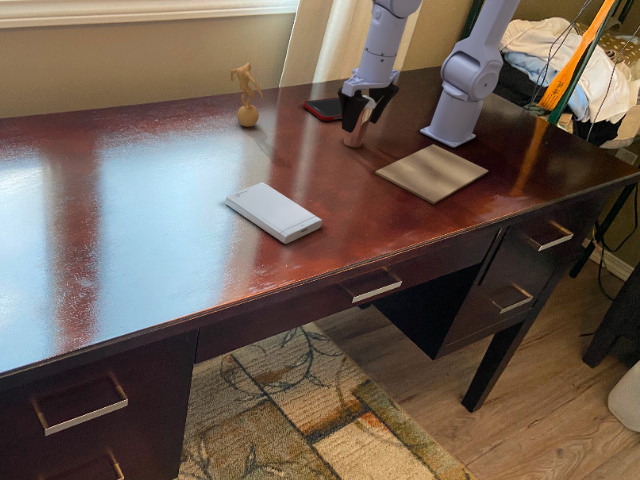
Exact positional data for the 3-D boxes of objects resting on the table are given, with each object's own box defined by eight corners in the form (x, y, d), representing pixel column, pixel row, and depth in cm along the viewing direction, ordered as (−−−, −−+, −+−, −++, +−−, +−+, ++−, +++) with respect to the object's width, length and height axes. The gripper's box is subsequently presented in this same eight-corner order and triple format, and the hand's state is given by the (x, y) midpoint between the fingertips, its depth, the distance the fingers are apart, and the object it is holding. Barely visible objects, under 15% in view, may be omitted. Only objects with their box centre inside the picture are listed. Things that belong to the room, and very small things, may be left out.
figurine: (269, 132, 113) (280, 68, 106) (245, 139, 110) (255, 73, 102) (239, 114, 117) (248, 51, 110) (215, 120, 114) (223, 56, 106)
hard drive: (225, 195, 91) (286, 235, 85) (263, 181, 96) (323, 218, 90) (224, 205, 92) (284, 245, 86) (262, 190, 97) (321, 227, 91)
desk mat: (432, 146, 119) (433, 144, 118) (487, 173, 113) (488, 170, 113) (374, 173, 107) (375, 170, 106) (433, 204, 101) (434, 202, 101)
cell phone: (378, 114, 127) (380, 110, 126) (323, 122, 120) (324, 117, 119) (355, 99, 131) (356, 95, 131) (300, 106, 125) (301, 101, 124)
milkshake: (367, 152, 113) (383, 100, 106) (339, 146, 113) (352, 93, 107) (368, 142, 116) (383, 91, 110) (341, 136, 116) (354, 85, 110)
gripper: (384, 37, 110) (364, 109, 118) (336, 48, 101) (318, 125, 110) (417, 50, 106) (394, 124, 115) (370, 63, 98) (349, 141, 106)
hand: (359, 125), depth 112 cm, fingers open, 7 cm apart
